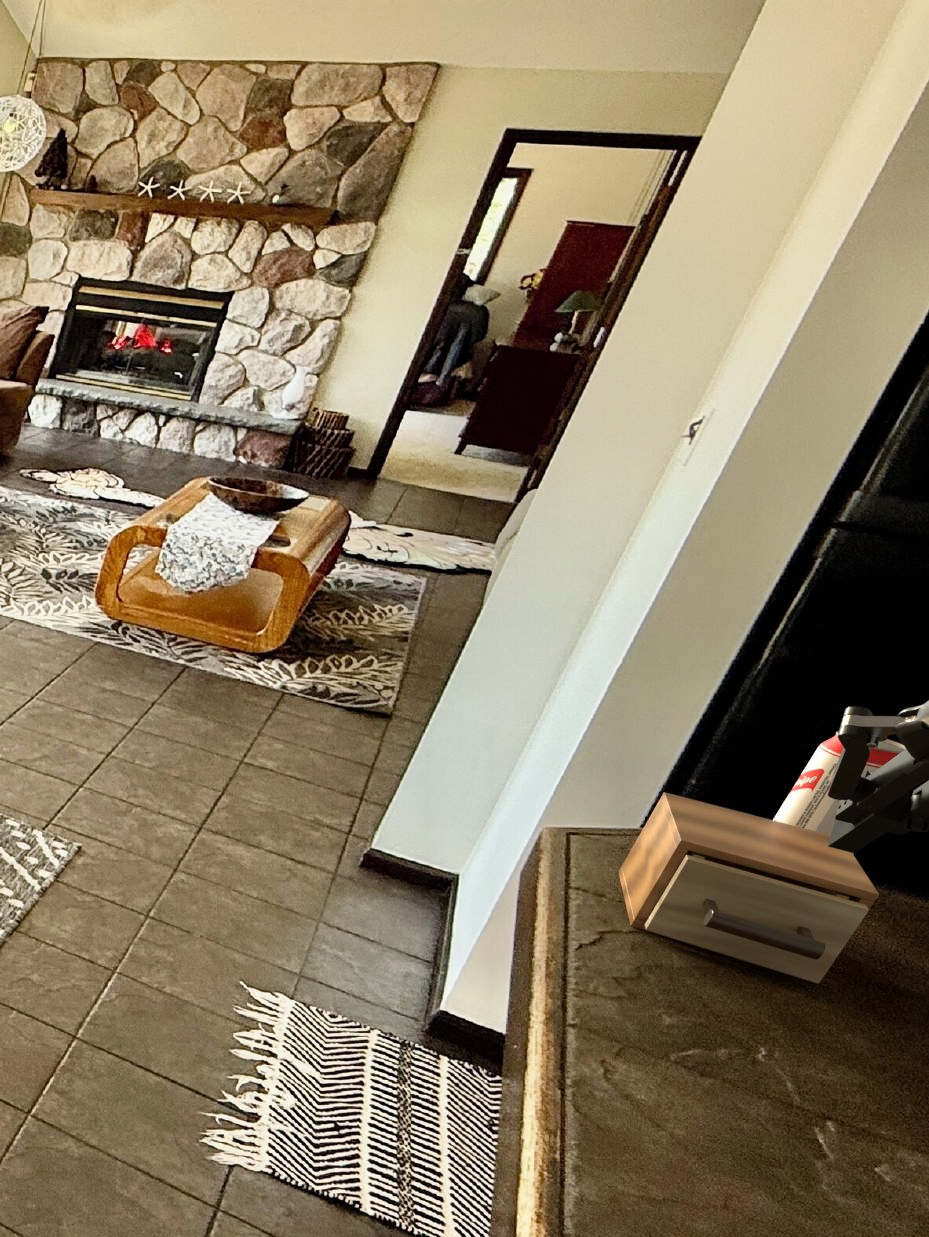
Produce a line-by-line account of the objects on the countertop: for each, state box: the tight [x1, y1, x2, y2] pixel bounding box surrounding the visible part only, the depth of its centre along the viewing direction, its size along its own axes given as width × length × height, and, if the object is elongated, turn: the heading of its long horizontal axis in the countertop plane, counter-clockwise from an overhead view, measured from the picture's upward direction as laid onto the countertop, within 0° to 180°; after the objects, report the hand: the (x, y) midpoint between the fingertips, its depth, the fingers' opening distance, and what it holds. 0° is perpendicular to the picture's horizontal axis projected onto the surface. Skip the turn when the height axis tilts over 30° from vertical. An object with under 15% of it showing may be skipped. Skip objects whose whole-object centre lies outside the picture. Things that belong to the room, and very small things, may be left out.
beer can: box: [772, 730, 906, 855], centre depth 122 cm, size 6×6×16 cm
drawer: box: [645, 850, 870, 984], centre depth 109 cm, size 18×11×8 cm, turn 139°
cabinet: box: [618, 792, 880, 985], centre depth 112 cm, size 15×13×10 cm
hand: (844, 835), depth 95 cm, fingers closed
